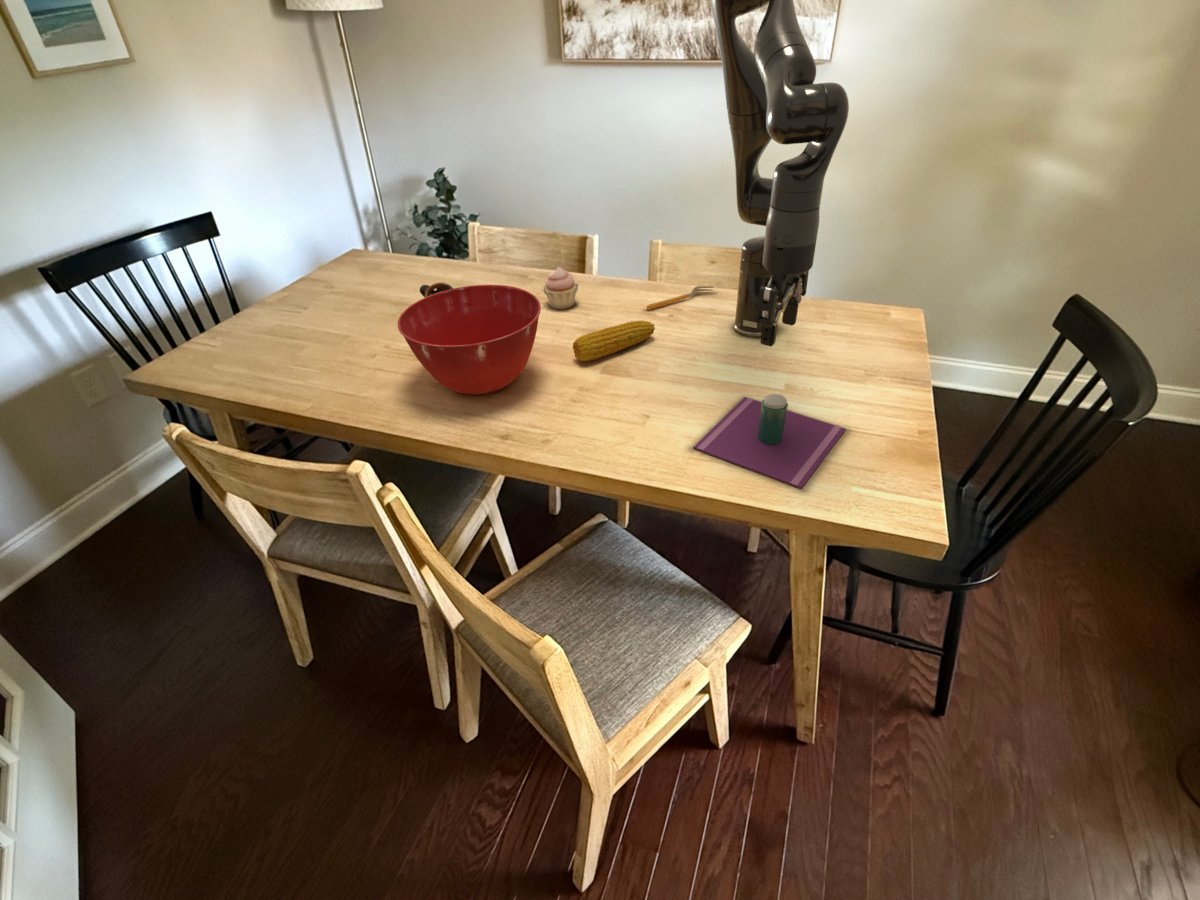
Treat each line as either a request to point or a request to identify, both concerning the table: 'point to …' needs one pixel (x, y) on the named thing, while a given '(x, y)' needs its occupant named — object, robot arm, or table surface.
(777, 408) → the salt shaker
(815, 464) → the napkin
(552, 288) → the cupcake
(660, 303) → the fork
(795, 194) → the robot arm
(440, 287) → the pottery mug
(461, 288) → the mixing bowl
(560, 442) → the table surface
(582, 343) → the food
